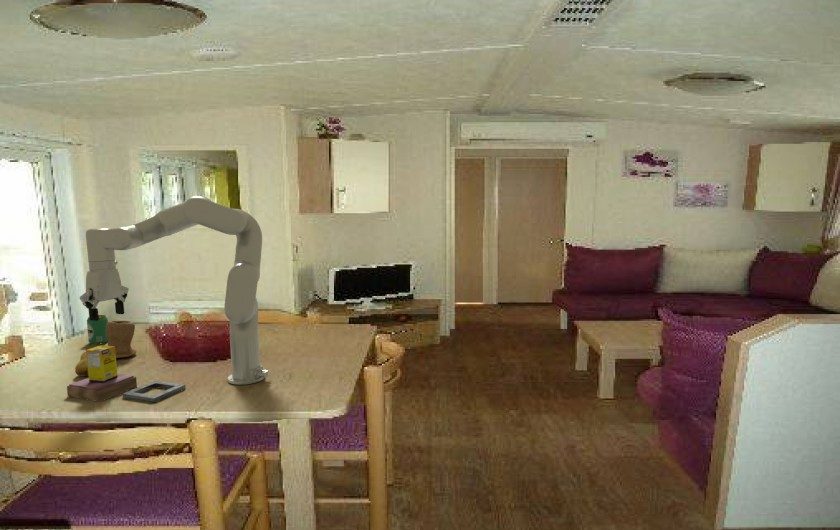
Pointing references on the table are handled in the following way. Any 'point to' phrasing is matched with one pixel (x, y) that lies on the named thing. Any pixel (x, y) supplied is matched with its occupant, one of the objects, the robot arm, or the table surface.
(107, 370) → the supplement box
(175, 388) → the frame
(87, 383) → the pedestal
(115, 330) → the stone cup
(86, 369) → the bread roll
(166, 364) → the table surface
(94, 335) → the beverage can
